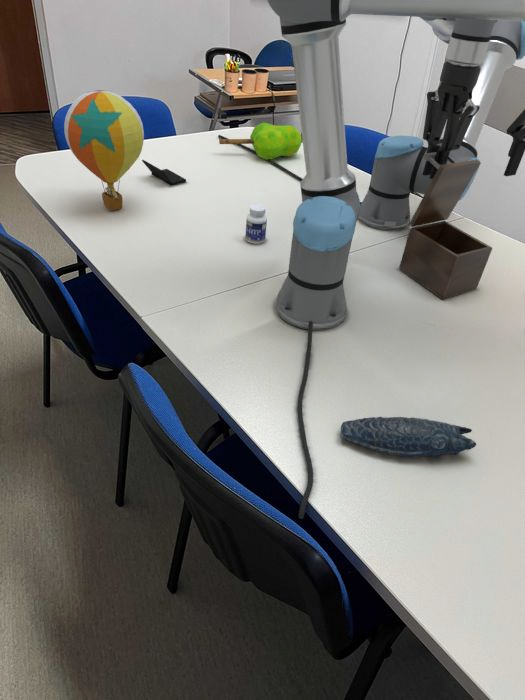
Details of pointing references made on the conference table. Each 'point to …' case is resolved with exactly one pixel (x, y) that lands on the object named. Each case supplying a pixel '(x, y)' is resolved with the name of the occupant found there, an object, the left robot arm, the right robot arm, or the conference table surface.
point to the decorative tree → (271, 140)
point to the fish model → (407, 436)
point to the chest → (444, 259)
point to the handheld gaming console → (165, 175)
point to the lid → (443, 190)
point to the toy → (105, 138)
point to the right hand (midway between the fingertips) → (431, 176)
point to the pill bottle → (256, 224)
